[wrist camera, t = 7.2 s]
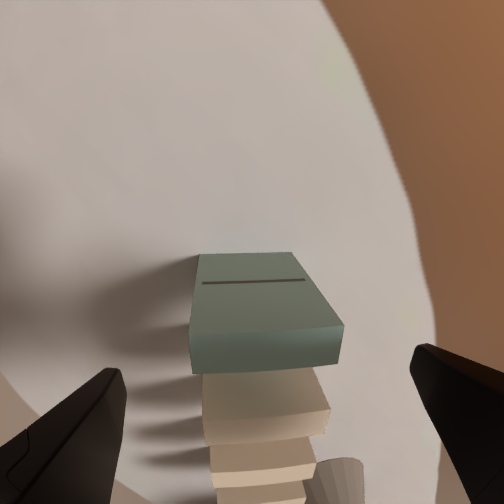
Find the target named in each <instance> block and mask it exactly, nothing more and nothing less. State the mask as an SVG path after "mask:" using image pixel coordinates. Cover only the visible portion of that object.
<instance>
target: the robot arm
mask: <svg viewBox="0 0 504 504" xmlns="http://www.w3.org/2000/svg"><path fill="white" fill-rule="evenodd" d="M410 373H411V376H412V378H413V380H414V383H415V385H416V388H417V390H418V392H419V395H420V397H421V400H422V402H423V405H424V407H425V409H426V411H427V413H428V415H429V417H430V419H431V421H432V423H433V425H434V427H435V428H436V430H437V432H438V434H439V436H440V438H441V440H442V442H443V444H444V446H445V448H446V450H447V452H448V454H449V456H450V458H451V461H452V463H453V465H454V467H455V469H456V471H457V473H458V475H459V478H460V480H461V482H462V484H463V486H464V489H465V491H466V493H467V495H468V498H469V500H470V502H471V504H504V373H503V372H500V371H498V370H495V369H493V368H490V367H487V366H484V365H482V364H480V363H477V362H475V361H472V360H469V359H467V358H464V357H462V356H459V355H457V354H454V353H451V352H449V351H446V350H444V349H441V348H439V347H436V346H434V345H431V344H428V343H425V344H421V345H418V346H416V348H415V350H414V353H413V357H412V360H411V363H410ZM126 399H127V392H126V387H125V384H124V381H123V377H122V374H121V371H120V370H119V369H118V368H105V369H103V370H102V371H101V372H99V373H98V374H97V375H95V376H94V377H93V378H92V379H90V380H89V381H88V382H86V383H85V384H84V385H82V386H81V387H80V388H78V389H77V390H76V391H74V392H73V393H72V394H71V395H69V396H68V397H67V398H65V399H64V400H63V401H61V402H60V403H59V404H57V405H56V406H55V407H54V408H52V409H51V410H50V411H48V412H47V413H46V414H44V415H43V416H42V417H40V418H39V419H38V420H36V421H35V422H34V423H33V424H31V425H30V426H29V427H28V428H27V429H25V430H23V431H22V432H21V433H19V434H18V435H17V436H15V437H14V438H13V439H11V440H10V441H8V442H7V443H6V444H4V445H2V446H1V447H0V504H110V498H111V493H112V487H113V482H114V477H115V472H116V467H117V462H118V457H119V453H120V448H121V443H122V436H123V426H124V416H125V407H126Z"/></svg>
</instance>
